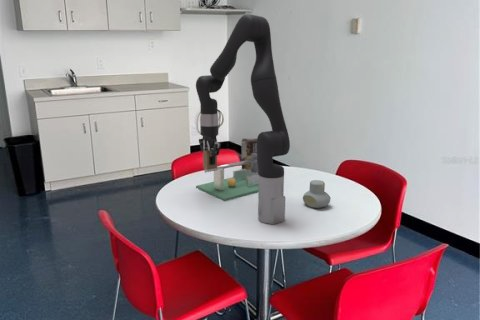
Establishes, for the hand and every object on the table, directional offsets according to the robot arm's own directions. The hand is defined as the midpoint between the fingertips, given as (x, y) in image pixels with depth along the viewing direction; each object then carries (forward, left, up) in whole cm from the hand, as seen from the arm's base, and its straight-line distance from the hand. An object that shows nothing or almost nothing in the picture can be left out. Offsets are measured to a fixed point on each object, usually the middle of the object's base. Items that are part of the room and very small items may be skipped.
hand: (210, 163), depth 183 cm
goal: (0, -20, -13) cm, 23 cm away
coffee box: (+18, -38, -14) cm, 44 cm away
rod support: (0, -26, -14) cm, 30 cm away
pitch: (0, -12, -14) cm, 18 cm away
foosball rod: (0, -13, -12) cm, 18 cm away
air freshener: (-38, -26, -14) cm, 48 cm away
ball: (0, -12, -11) cm, 16 cm away
